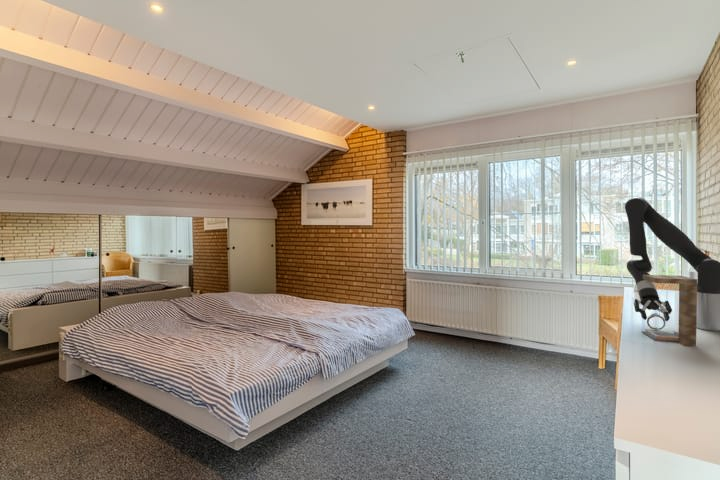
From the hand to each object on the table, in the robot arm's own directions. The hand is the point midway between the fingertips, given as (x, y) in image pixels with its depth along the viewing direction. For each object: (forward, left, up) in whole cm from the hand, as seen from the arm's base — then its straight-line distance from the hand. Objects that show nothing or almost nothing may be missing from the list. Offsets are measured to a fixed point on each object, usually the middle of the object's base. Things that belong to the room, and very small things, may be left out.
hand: (656, 319), depth 182 cm
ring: (0, -1, -5) cm, 5 cm away
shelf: (+2, +18, -5) cm, 19 cm away
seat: (+1, +13, -5) cm, 14 cm away
